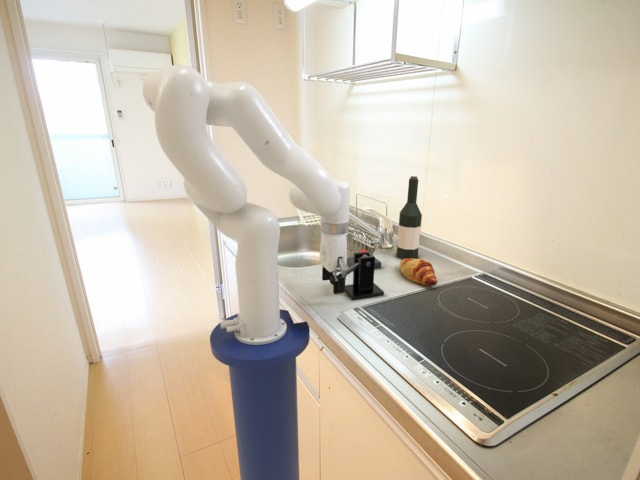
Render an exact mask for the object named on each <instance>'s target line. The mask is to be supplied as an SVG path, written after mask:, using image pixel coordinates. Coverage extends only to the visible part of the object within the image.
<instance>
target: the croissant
mask: <svg viewBox="0 0 640 480" xmlns="http://www.w3.org/2000/svg"><path fill="white" fill-rule="evenodd" d="M399 271H400V272H401V276H402V277H404V278H406V279H407V280H409V281H412V282H414V283H418V284H420V285H423V286H427V287H432V286H436V285H437V284H438V279H437V276H436V273H435V269H434V267H433V264H432V263H431V262H430V261H429V260H426V259H423V258H422V259H421V258H417V259H413V258H408V259H407V258H406V259H401V260H400V264H399Z"/></svg>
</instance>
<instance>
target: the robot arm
mask: <svg viewBox="0 0 640 480" xmlns="http://www.w3.org/2000/svg"><path fill="white" fill-rule="evenodd" d="M142 97H143V99H144V101H145V103H146V105H147V106H148V108H149V109H150V110H151V111H152V112H153V113H154V126H155V133H156V137H157V140H158V144H159V145H160V148H161V149H162V151H163V153H164V155H165V156H166V157H167V159H168V160H169V161H170V163H172V166H174V168H175V169H176V170H177V171H178V172H179V173H180V176H182V177H183V188H184V191H185V193H186V195H187V198H189V200H190V201H191V202H192V204H194V205H195V207H196V208H197V209H198V210H199V211H200V212H201V213H202V214H203V215H204V216H205V217H206V218H207V220H209V222H210V223H211V224H212V225H213V226H214V227H215V228H216V229H217V230H218V231H219V232H220V233H222V235H224V236H225V237H227V238H229V239H231V240H233V241H234V242H236V243H237V251H236V254H235V265H234V266H235V277H236V287H237V288H236V289H237V299H238V313H237V314H238V317H237V318H234V320H225V319H224V320H225V321H223V320H220V322H219V323H220V324H221V329H225V328H226V329H227V332H232V331H234V332H235V337H236V338H237V340H239V341H240V342H242V343H245V344H249V345H264V344H269V343H272V342H275V341H277V340H279V339H280V338H282V337H283V336H284V335H285V333H286V331H287V325H286V323H285V321H284V320H282V319H281V318H280V309H281V307H280V306H281V305H280V286H279V260H278V257H279V256H278V255H279V254H278V253H279V245H280V238H281V226H280V222H279V220H278V218H277V216H276V215H275V213H273V212H272V211H271V210H270V209H268V208H266V207H265V206H264V207H263V206H261V205H258V204H256V203H253V202H249V201H247V199H248V189H247V186H246V184H245V181H244V180H243V178H242V177H241V175H240V174H239V173H238V172H237V171H236V170H235V168H234V167H233V166H232V165H231V163H230V162H229V161H228V159H227V158H226V157H225V156H224V154H223V153H222V152H221V150H220V149H219V148H218V147H217V145H216V143H215V141H213V140H214V139H212V137H211V136H210V133H209V131H208V127H207V126H215V127H223V128H224V127H225V128H232V129H233V130H234V131H235V133H236V135H238V136H239V138H240V139H241V140H242V141H243V142H244V143H245V145H246V146H247V147H248V149H250V151H251V152H252V153H253V155H254V156H255V157H256V158H257V159H258V161H259V162H260V163H261V164H262V165H263V166H264V167H265V168H267V169H268V170H270V171H271V172H273V173H275V174H277V175H278V176H280V177H282V178H284V179H286V180H287V181H289V182H290V183H292V184H293V185H292V186H291V187H290V189H289V192H288V198H289V201H290V204H292V206H294V207H295V208H296V209H298V210H300V211H303V212H306V213H310V214H313V215H315V216H316V215H317V216H319V217H320V244H319V263H320V265H321V268H322V269H321V270H322V271H321V272H322V273H321V280H322V281H330V277H331V276H332V275H334V277H335V280H334V282H333V285H332V289H333V290H332V293H333V294H334V295H341V294H346V293H345V285H346V281H347V276H348V275H346V273H347V269H348V268H347V266H348V265H347V258H348V243H347V241H348V240H347V236H348V235H349V227H350V225H349V224H350V205H351V202H350V199H351V186H350V183H349V182H348V181H345V180H340V179H333V178H332V177H331V175H330V174H329V173H328V171H327V170H326V168H325V167H323V165H322V164H321V163H319V161H318V160H317V159H315V158H314V157H313V156H312V155H311V154H309V152H307V151H306V150H305V149H304V148H303V147H302V146H300V144H298V143H297V142H296V141H294V139H293V138H292V136H290V134H289V133H288V131H287V130H286V128H285V127H284V126H283V124H282V123H281V122H280V120H279V118H278V117H277V115H276V114H275V113H274V111H273V110H272V109H271V107H270V106H269V104H268V102H267V101H266V100H265V98H264V97H263V96H262V94H261V93H260V92H259V91H258V89H257V88H255V86H254V85H252V84H250V83H248V82H245V81H229V82H223V83H221V82H213V81H207V80H206V79H205V78H204V77H203V75H202V74H201V73H200V72H199V71H198V70H196V69H195V68H194V67H191V66H189V65H186V64H185V65H184V64H172V65H169V66H165V67H162V68H159V69H157V70H154V71H152V72H150V73H149V74H148V75H147V76H146V77H145V79H144V81H143V84H142ZM337 275H338V276H337Z"/></svg>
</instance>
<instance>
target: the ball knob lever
mask: <svg viewBox="0 0 640 480" xmlns="http://www.w3.org/2000/svg"><path fill="white" fill-rule="evenodd" d="M361 257H368V256H367V255H366V254H364V255H362V256H361ZM359 258H360V257H359ZM359 258H358V259H357V260H358V262H357V263H356V264H354V265H353V266H351V267H348V268H347V273H346V275H347V276H348V275H349V274H351V273H353V271H354V270H355V269H357V268H358V267H359ZM338 275H339V274H337V276H338ZM334 280H335V277H334V274H333V275H332V276H331V277H330V280H329V284H330V285H331V286H333V282H334Z"/></svg>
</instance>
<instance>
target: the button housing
mask: <svg viewBox="0 0 640 480" xmlns="http://www.w3.org/2000/svg"><path fill="white" fill-rule="evenodd" d="M369 256H374V254H373V253H371V252H369ZM353 265H354V256H353V257H352V256H350V257H347V266H348V268H350V267H351V266H353ZM378 269H382V261H381V260H379V259H377V257H375V266H374V270H378Z"/></svg>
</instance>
